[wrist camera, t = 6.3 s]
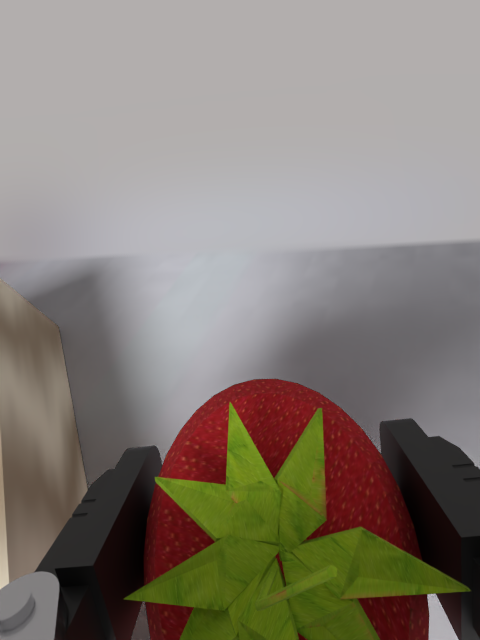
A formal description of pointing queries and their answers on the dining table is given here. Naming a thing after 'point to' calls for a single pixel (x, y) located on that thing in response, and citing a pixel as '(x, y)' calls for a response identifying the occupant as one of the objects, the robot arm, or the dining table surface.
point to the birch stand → (34, 438)
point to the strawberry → (281, 528)
